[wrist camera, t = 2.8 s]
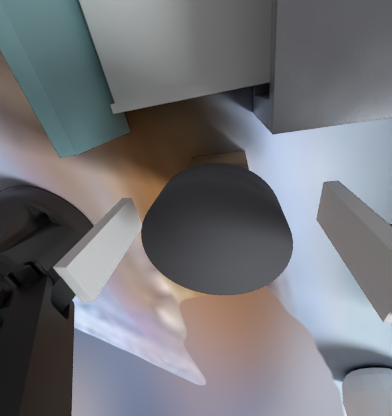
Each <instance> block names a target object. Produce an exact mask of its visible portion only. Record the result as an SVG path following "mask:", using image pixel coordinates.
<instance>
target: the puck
mask: <svg viewBox="0 0 392 416" xmlns="http://www.w3.org/2000/svg"><path fill="white" fill-rule="evenodd" d="M141 238H142V243H143V247H144V250H145V252H146V254H147V256H148V258H149V259H150V261H151V262H152V264H153V265H154V266H155V267H156V268H157V269H158V270H159V271H160V272H161V273H162V274H163V275H164V276H166V277H167V278H168V279H170V280H172V281H173V282H175V283H177V284H179V285H181V286H183V287H185V288H188V289H190V290H193V291H197V292H201V293H205V294H212V295H236V294H243V293H247V292H251V291H254V290H257V289H260V288H262V287H264V286H266V285H267V284H269V283H271V282H272V281H273V280H275V279H276V278H277V277H278V276H279V275H280V274H281V273H282V272H283V271H284V269H285V268H286V266H287V265H288V263H289V261H290V258H291V255H292V250H293V239H292V233H291V231H290V228H289V225H288V223H287V221H286V218H285V216H284V213H283V211H282V209H281V206H280V204H279V202H278V199H277V197H276V195H275V193H274V192H273V190H272V189H271V188H270V186H269V185H268V184H267V183H266V182H265V181H264V180H263V179H262V178H261V177H259V176H258V175H256V174H255V173H253V172H251V171H249V170H247V169H245V168H242V167H239V166H236V165H232V164H227V163H205V164H200V165H196V166H193V167H190V168H188V169H185V170H183V171H181V172H180V173H178V174H177V175H175V176H174V177H173V178H172V179H171V180H170V181H169V182H168V183H167V184H166V186H165V187H164V188H163V190H162V191H161V193H160V194H159V196H158V197H157V199H156V200H155V202H154V203H153V205H152V206H151V207H150V209H149V210H148V212H147V214H146V216H145V218H144V221H143V224H142V230H141Z"/></svg>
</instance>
